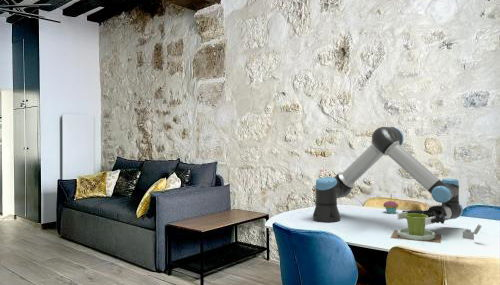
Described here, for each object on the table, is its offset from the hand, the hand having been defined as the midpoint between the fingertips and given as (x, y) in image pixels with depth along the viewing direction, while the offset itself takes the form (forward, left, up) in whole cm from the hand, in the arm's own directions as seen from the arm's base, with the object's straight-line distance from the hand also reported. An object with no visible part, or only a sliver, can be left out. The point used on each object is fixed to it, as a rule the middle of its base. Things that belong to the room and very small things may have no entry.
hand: (411, 218), depth 170 cm
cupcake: (-16, +63, -10) cm, 66 cm away
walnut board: (+2, +3, -10) cm, 10 cm away
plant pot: (+2, +3, -8) cm, 8 cm away
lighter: (+24, +8, -10) cm, 27 cm away
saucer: (+2, +3, -8) cm, 9 cm away
